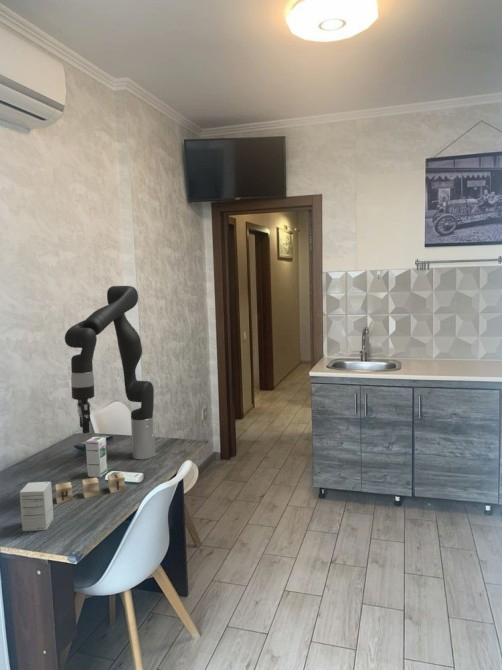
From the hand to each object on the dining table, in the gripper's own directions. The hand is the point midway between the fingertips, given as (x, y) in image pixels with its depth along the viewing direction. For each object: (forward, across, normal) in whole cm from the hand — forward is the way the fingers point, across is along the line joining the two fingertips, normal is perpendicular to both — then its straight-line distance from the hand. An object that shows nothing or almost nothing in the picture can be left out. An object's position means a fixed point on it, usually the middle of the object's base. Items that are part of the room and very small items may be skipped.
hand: (84, 429), depth 172 cm
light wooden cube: (+24, -1, +8) cm, 25 cm away
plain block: (+24, 0, -1) cm, 24 cm away
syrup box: (+24, +18, -6) cm, 30 cm away
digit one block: (+24, 0, -10) cm, 26 cm away
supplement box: (+24, -17, +17) cm, 34 cm away
